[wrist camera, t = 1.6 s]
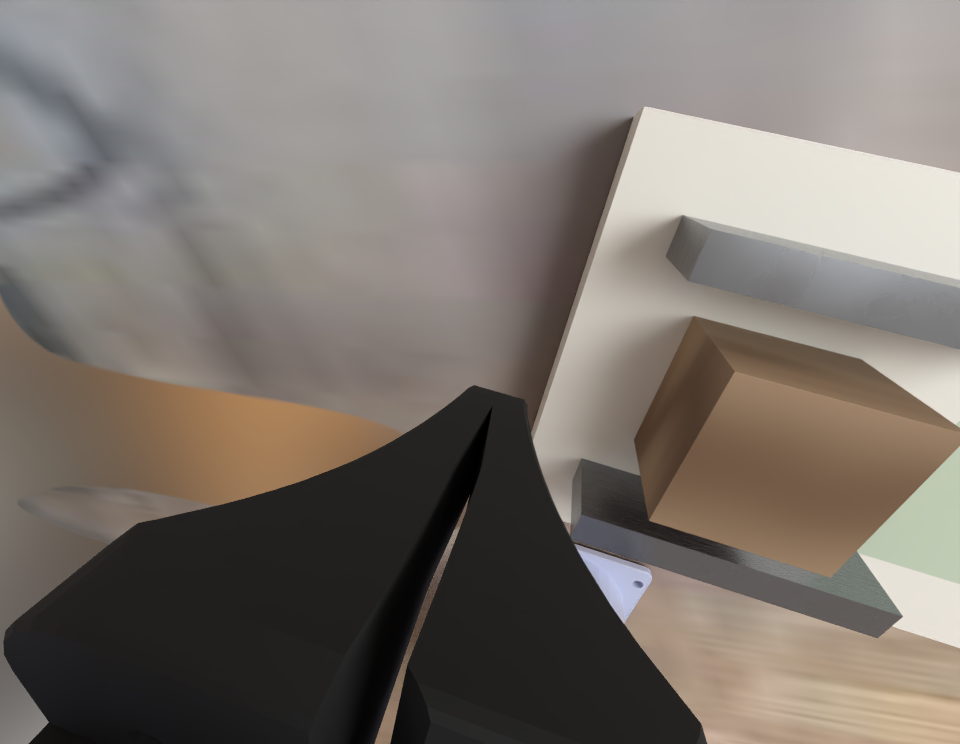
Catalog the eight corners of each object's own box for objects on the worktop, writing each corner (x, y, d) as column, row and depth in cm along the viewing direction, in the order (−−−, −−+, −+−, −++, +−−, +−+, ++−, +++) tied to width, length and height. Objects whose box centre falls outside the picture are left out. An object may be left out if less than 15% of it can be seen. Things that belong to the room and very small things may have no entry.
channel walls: (828, 559, 16) (877, 638, 13) (572, 480, 17) (570, 538, 14) (1067, 305, 11) (1225, 350, 8) (682, 214, 12) (711, 229, 9)
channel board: (1106, 649, 18) (1181, 718, 15) (519, 468, 20) (511, 504, 18) (1656, 334, 10) (1943, 380, 8) (633, 116, 13) (644, 106, 11)
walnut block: (772, 480, 15) (830, 577, 11) (633, 439, 15) (649, 520, 12) (861, 359, 12) (970, 435, 9) (693, 315, 13) (734, 371, 9)
